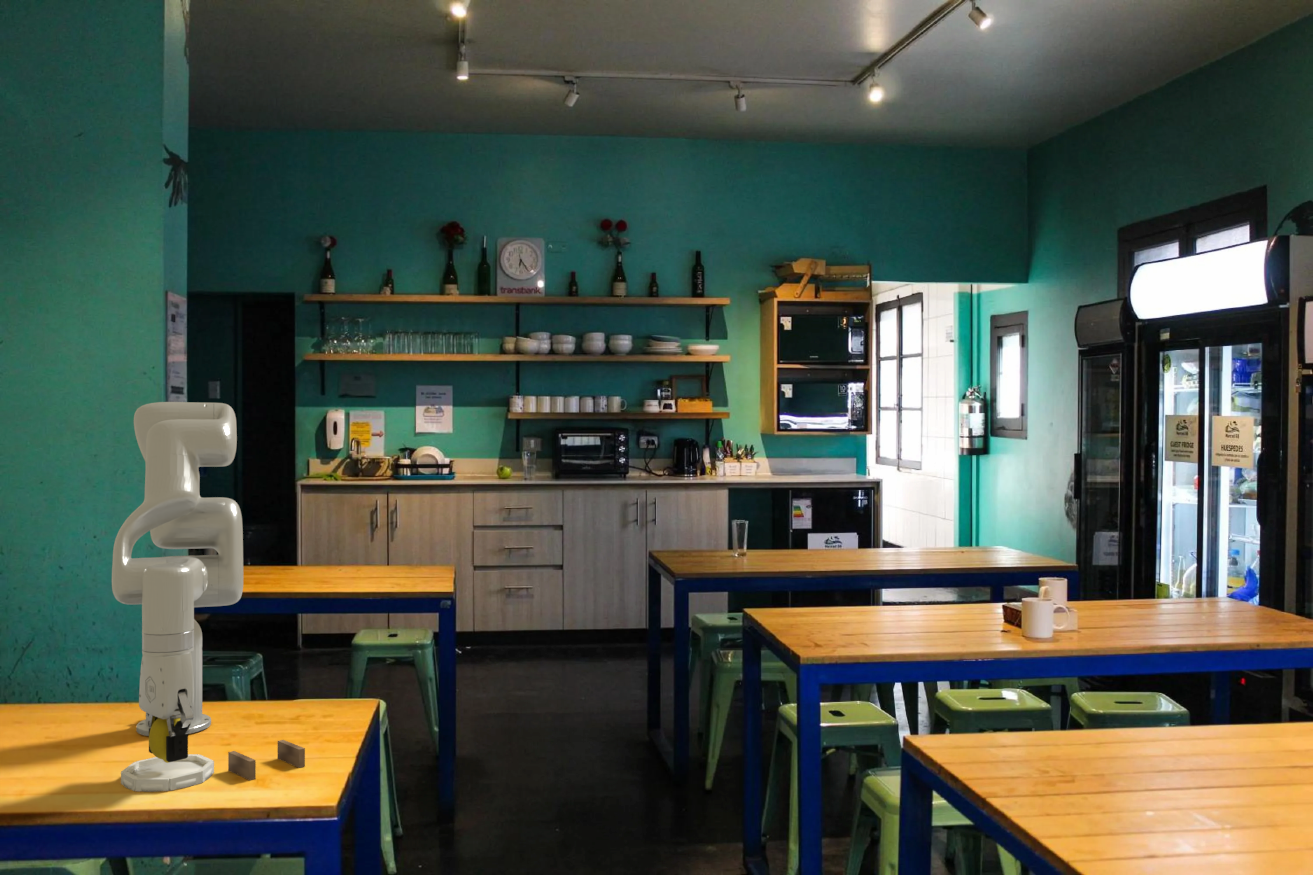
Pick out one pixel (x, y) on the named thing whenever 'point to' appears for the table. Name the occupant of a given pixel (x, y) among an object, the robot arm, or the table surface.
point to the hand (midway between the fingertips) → (168, 754)
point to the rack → (248, 765)
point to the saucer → (167, 773)
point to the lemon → (159, 738)
